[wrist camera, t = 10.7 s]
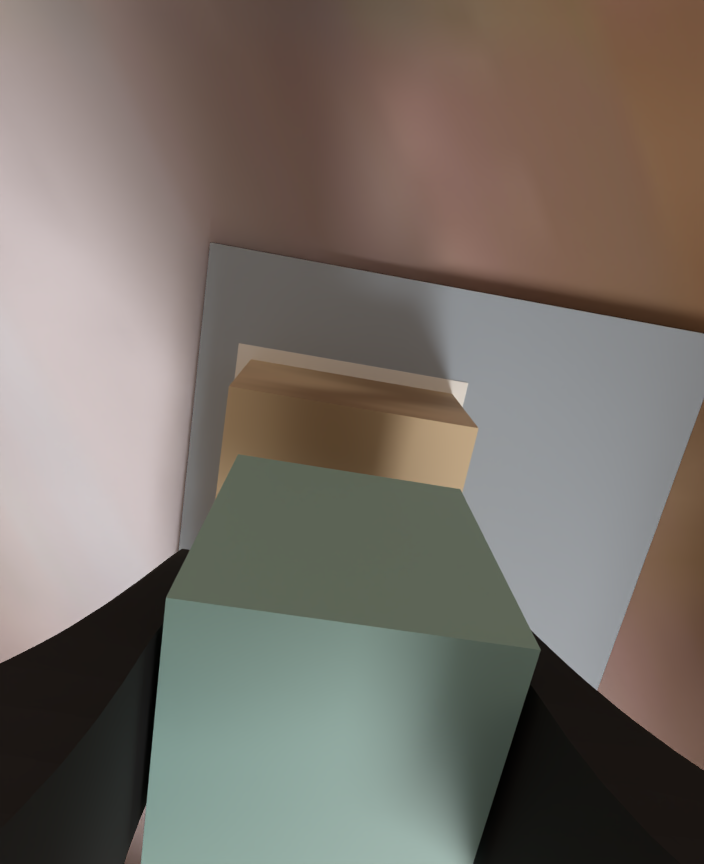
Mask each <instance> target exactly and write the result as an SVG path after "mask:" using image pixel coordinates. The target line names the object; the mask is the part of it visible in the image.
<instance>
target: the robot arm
mask: <svg viewBox="0 0 704 864" xmlns="http://www.w3.org/2000/svg"><path fill="white" fill-rule="evenodd" d="M189 551H190V550H188V549H181V550H179V551H178V552H177V553H175V554H174V555H172V556H171V557H170V558H168V559H167V560H166V561H164V562H163V563H162V564H160V565H159V566H158V567H157V568H155V569H154V570H153V571H151V572H150V573H149V574H147V575H146V576H145V577H143V578H142V579H141V580H139V581H138V582H137V583H135V584H134V585H132V586H131V587H130V588H128V589H127V590H125V591H124V592H123V593H121V594H120V595H118V596H117V597H115V598H114V599H113V600H111V601H110V602H108V603H107V604H105V605H104V606H102V607H101V608H99V609H98V610H96V611H95V612H93V613H91V614H90V615H88V616H87V617H85V618H83V619H82V620H80V621H79V622H77V623H76V624H74V625H72V626H71V627H69V628H67V629H66V630H64V631H62V632H61V633H59V634H57V635H55V636H53V637H52V638H50V639H48V640H46V641H44V642H42V643H40V644H38V645H36V646H35V647H33V648H31V649H29V650H27V651H25V652H23V653H21V654H19V655H17V656H15V657H13V658H11V659H9V660H7V661H4V662H2V663H0V864H124V862H125V859H126V855H127V852H128V850H129V847H130V844H131V841H132V839H133V836H134V833H135V831H136V828H137V825H138V823H139V820H140V818H141V815H142V813H143V810H144V808H145V806H146V803H147V793H148V783H149V772H150V761H151V751H152V740H153V730H154V719H155V708H156V698H157V687H158V676H159V666H160V655H161V645H162V634H163V623H164V613H165V602H166V597H167V595H168V593H169V591H170V589H171V587H172V585H173V583H174V581H175V579H176V577H177V575H178V573H179V571H180V569H181V567H182V565H183V563H184V561H185V559H186V557H187V555H188V553H189ZM532 633H533V632H532ZM533 635H534V637H535V639H536V641H537V643H538V645H539V647H540V649H541V651H540V654H539V657H538V660H537V663H536V667H535V670H534V673H533V676H532V679H531V682H530V685H529V689H528V692H527V695H526V698H525V701H524V704H523V707H522V711H521V714H520V717H519V720H518V723H517V726H516V730H515V733H514V736H513V739H512V742H511V745H510V748H509V752H508V755H507V758H506V761H505V764H504V767H503V771H502V774H501V777H500V780H499V783H498V786H497V789H496V793H495V796H494V799H493V802H492V805H491V808H490V811H489V815H488V818H487V821H486V824H485V827H484V830H483V834H482V837H481V840H480V843H479V846H478V849H477V852H476V856H475V859H474V862H473V864H704V770H702V769H700V768H699V767H697V766H696V765H695V764H693V763H692V762H690V761H689V760H687V759H686V758H684V757H683V756H681V755H680V754H678V753H677V752H676V751H674V750H673V749H671V748H670V747H669V746H667V745H666V744H665V743H663V742H662V741H661V740H659V739H658V738H656V737H655V736H654V735H652V734H651V733H650V732H648V731H647V730H646V729H644V728H643V727H642V726H640V725H639V724H637V723H636V722H635V721H634V720H632V719H631V718H630V717H628V716H627V715H626V714H625V713H623V712H622V711H621V710H620V709H618V708H617V707H616V706H615V705H614V704H612V703H611V702H610V701H609V700H608V699H606V698H605V697H604V696H603V695H602V694H601V693H599V692H598V691H597V690H596V689H595V688H593V687H592V686H591V685H590V684H589V683H588V682H586V681H585V680H584V679H583V678H582V677H581V676H580V675H578V674H577V673H576V672H575V671H574V670H573V669H572V668H571V667H570V666H568V665H567V664H566V663H565V662H564V661H563V660H562V659H561V658H560V657H559V656H558V655H557V654H556V653H554V652H553V651H552V650H551V649H550V648H549V647H548V646H547V645H546V644H545V643H544V642H543V641H542V640H541V639H540V638H539V637H538V636H537V635H536V634H535V633H533Z"/></svg>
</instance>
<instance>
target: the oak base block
mask: <svg viewBox="0 0 704 864" xmlns="http://www.w3.org/2000/svg"><path fill="white" fill-rule="evenodd" d="M478 429H479V428H478V427H477V426H476V424H475V423H474V422H473V420H472V419H471V418H470V416H469V415H468V414H467V412H466V411H465V410H464V409H463V407H462V406H461V405H460V403H459V402H458V401H457V399H456V398H455V397H454V395H453V394H450V393H444V392H439V391H433V390H427V389H421V388H415V387H410V386H404V385H398V384H392V383H386V382H380V381H375V380H369V379H363V378H357V377H351V376H346V375H340V374H334V373H328V372H322V371H316V370H311V369H305V368H299V367H293V366H287V365H282V364H276V363H270V362H264V361H258V360H252V359H251V360H250V361H249V362H248V363H247V365H246V366H245V367H244V368H243V369H242V371H241V372H240V373H239V374H238V376H237V377H236V378H235V379H234V381H233V382H232V383H231V384H230V385H229V389H228V397H227V406H226V414H225V423H224V431H223V439H222V448H221V456H220V464H219V473H218V481H217V490H216V497H217V495H218V493H219V491H220V489H221V487H222V485H223V483H224V481H225V479H226V477H227V475H228V473H229V471H230V469H231V467H232V465H233V463H234V461H235V459H236V457H237V455H238V454H240V455H246V456H253V457H259V458H265V459H272V460H278V461H284V462H291V463H297V464H303V465H310V466H316V467H323V468H329V469H335V470H342V471H348V472H354V473H361V474H367V475H374V476H380V477H386V478H393V479H399V480H405V481H412V482H418V483H425V484H431V485H437V486H444V487H450V488H456V489H460V490H461V492H463V488H464V484H465V480H466V476H467V472H468V468H469V464H470V460H471V456H472V452H473V448H474V445H475V441H476V437H477V433H478ZM215 499H216V498H215Z"/></svg>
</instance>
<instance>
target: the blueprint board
mask: <svg viewBox="0 0 704 864" xmlns="http://www.w3.org/2000/svg"><path fill="white" fill-rule="evenodd" d="M251 359H252V360H258V361H264V362H270V363H276V364H282V365H287V366H293V367H299V368H305V369H311V370H316V371H322V372H328V373H334V374H340V375H346V376H351V377H357V378H363V379H369V380H375V381H380V382H386V383H392V384H398V385H404V386H410V387H415V388H421V389H427V390H433V391H439V392H444V393H450V394H453V395H454V397H455V398H456V399H457V401H458V402H459V403H460V405H461V406H462V407H463V409H464V410H465V411H466V412H467V414H468V415H469V416H470V418H471V419H472V420H473V422H474V423H475V424H476V426H477V427H478V428H479V429H478V433H477V437H476V441H475V445H474V448H473V452H472V456H471V460H470V464H469V468H468V472H467V476H466V480H465V484H464V488H463V492H462V494H463V496H464V498H465V500H466V502H467V504H468V506H469V508H470V510H471V511H472V513H473V515H474V517H475V519H476V521H477V523H478V525H479V527H480V529H481V531H482V533H483V535H484V537H485V539H486V541H487V543H488V545H489V547H490V549H491V551H492V553H493V555H494V557H495V559H496V561H497V563H498V565H499V567H500V569H501V571H502V573H503V575H504V577H505V579H506V581H507V583H508V585H509V587H510V589H511V591H512V593H513V595H514V597H515V599H516V601H517V603H518V605H519V607H520V609H521V611H522V613H523V615H524V617H525V619H526V621H527V623H528V625H529V627H530V629H531V631H532V632H533V633H535V634H536V635H537V636H538V637H539V638H540V639H541V640H542V641H543V642H544V643H545V644H546V645H547V646H548V647H549V648H550V649H551V650H552V651H553V652H554V653H556V654H557V655H558V656H559V657H560V658H561V659H562V660H563V661H564V662H565V663H566V664H567V665H568V666H570V667H571V668H572V669H573V670H574V671H575V672H576V673H577V674H578V675H580V676H581V677H582V678H583V679H584V680H585V681H586V682H588V683H589V684H590V685H591V686H592V687H593V688H595V689H596V690H597V689H598V686H599V684H600V681H601V678H602V676H603V673H604V670H605V667H606V665H607V662H608V659H609V656H610V654H611V651H612V648H613V645H614V643H615V640H616V637H617V635H618V632H619V629H620V626H621V624H622V621H623V618H624V615H625V613H626V610H627V607H628V604H629V602H630V599H631V596H632V593H633V591H634V588H635V585H636V583H637V580H638V577H639V574H640V572H641V569H642V566H643V563H644V561H645V558H646V555H647V552H648V550H649V547H650V544H651V541H652V539H653V536H654V533H655V531H656V528H657V525H658V522H659V520H660V517H661V514H662V511H663V509H664V506H665V503H666V500H667V498H668V495H669V492H670V489H671V487H672V484H673V481H674V479H675V476H676V473H677V470H678V468H679V465H680V462H681V459H682V457H683V454H684V451H685V448H686V446H687V443H688V440H689V438H690V435H691V432H692V429H693V427H694V424H695V421H696V418H697V416H698V413H699V410H700V407H701V405H702V402H703V399H704V333H699V332H694V331H688V330H683V329H677V328H672V327H667V326H661V325H656V324H650V323H645V322H640V321H634V320H629V319H623V318H618V317H613V316H607V315H602V314H596V313H591V312H585V311H580V310H575V309H569V308H564V307H558V306H553V305H548V304H542V303H537V302H531V301H526V300H521V299H515V298H510V297H504V296H499V295H493V294H488V293H483V292H477V291H472V290H466V289H461V288H456V287H450V286H445V285H439V284H434V283H429V282H423V281H418V280H412V279H407V278H401V277H396V276H391V275H385V274H380V273H374V272H369V271H364V270H358V269H353V268H347V267H342V266H337V265H331V264H326V263H320V262H315V261H309V260H304V259H299V258H293V257H288V256H282V255H277V254H272V253H266V252H261V251H255V250H250V249H245V248H239V247H234V246H228V245H223V244H217V243H210V249H209V259H208V268H207V278H206V288H205V298H204V308H203V317H202V327H201V337H200V347H199V357H198V366H197V376H196V386H195V396H194V405H193V415H192V425H191V435H190V445H189V454H188V464H187V474H186V484H185V494H184V503H183V513H182V523H181V533H180V543H179V550H181V549H188V550H190V549H191V547H192V545H193V543H194V541H195V539H196V537H197V535H198V533H199V531H200V529H201V527H202V525H203V523H204V521H205V519H206V517H207V515H208V513H209V511H210V509H211V507H212V505H213V503H214V501H215V498H216V490H217V481H218V473H219V464H220V456H221V448H222V439H223V431H224V423H225V414H226V406H227V397H228V389H229V385H230V384H231V383H232V382H233V381H234V379H235V378H236V377H237V376H238V374H239V373H240V372H241V371H242V369H243V368H244V367H245V366H246V365H247V363H248V362H249V361H250V360H251Z"/></svg>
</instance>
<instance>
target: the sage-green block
mask: <svg viewBox="0 0 704 864" xmlns="http://www.w3.org/2000/svg"><path fill="white" fill-rule="evenodd" d="M540 651H541V649H540V647H539V645H538V643H537V641H536V639H535V637H534V635H533V633H532V631H531V629H530V627H529V625H528V623H527V621H526V619H525V617H524V615H523V613H522V611H521V609H520V607H519V605H518V603H517V601H516V599H515V597H514V595H513V593H512V591H511V589H510V587H509V585H508V583H507V581H506V579H505V577H504V575H503V573H502V571H501V569H500V567H499V565H498V563H497V561H496V559H495V557H494V555H493V553H492V551H491V549H490V547H489V545H488V543H487V541H486V539H485V537H484V535H483V533H482V531H481V529H480V527H479V525H478V523H477V521H476V519H475V517H474V515H473V513H472V511H471V510H470V508H469V506H468V504H467V502H466V500H465V498H464V496H463V494H462V492H461V490H460V489H456V488H450V487H444V486H437V485H431V484H425V483H418V482H412V481H405V480H399V479H393V478H386V477H380V476H374V475H367V474H361V473H354V472H348V471H342V470H335V469H329V468H323V467H316V466H310V465H303V464H297V463H291V462H284V461H278V460H272V459H265V458H259V457H253V456H246V455H240V454H238V455H237V457H236V459H235V461H234V463H233V465H232V467H231V469H230V471H229V473H228V475H227V477H226V479H225V481H224V483H223V485H222V487H221V489H220V491H219V493H218V495H217V497H216V499H215V501H214V503H213V505H212V507H211V509H210V511H209V513H208V515H207V517H206V519H205V521H204V523H203V525H202V527H201V529H200V531H199V533H198V535H197V537H196V539H195V541H194V543H193V545H192V547H191V549H190V551H189V553H188V555H187V557H186V559H185V561H184V563H183V565H182V567H181V569H180V571H179V573H178V575H177V577H176V579H175V581H174V583H173V585H172V587H171V589H170V591H169V593H168V595H167V597H166V602H165V613H164V623H163V634H162V645H161V655H160V666H159V676H158V687H157V698H156V708H155V719H154V730H153V740H152V751H151V761H150V772H149V783H148V793H147V804H146V815H145V825H144V836H143V847H142V857H141V864H473V862H474V859H475V856H476V852H477V849H478V846H479V843H480V840H481V837H482V834H483V830H484V827H485V824H486V821H487V818H488V815H489V811H490V808H491V805H492V802H493V799H494V796H495V793H496V789H497V786H498V783H499V780H500V777H501V774H502V771H503V767H504V764H505V761H506V758H507V755H508V752H509V748H510V745H511V742H512V739H513V736H514V733H515V730H516V726H517V723H518V720H519V717H520V714H521V711H522V707H523V704H524V701H525V698H526V695H527V692H528V689H529V685H530V682H531V679H532V676H533V673H534V670H535V667H536V663H537V660H538V657H539V654H540Z"/></svg>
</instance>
